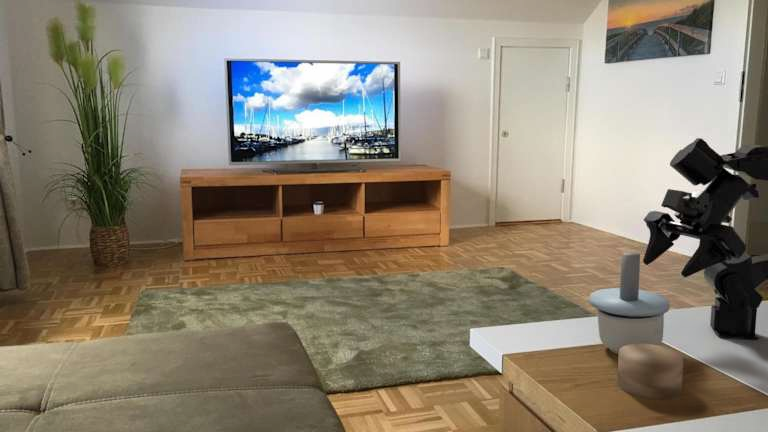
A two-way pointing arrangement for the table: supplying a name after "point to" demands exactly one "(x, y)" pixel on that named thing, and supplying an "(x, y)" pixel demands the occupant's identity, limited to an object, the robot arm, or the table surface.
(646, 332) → the teacup
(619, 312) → the lid
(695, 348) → the table surface
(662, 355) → the stone
